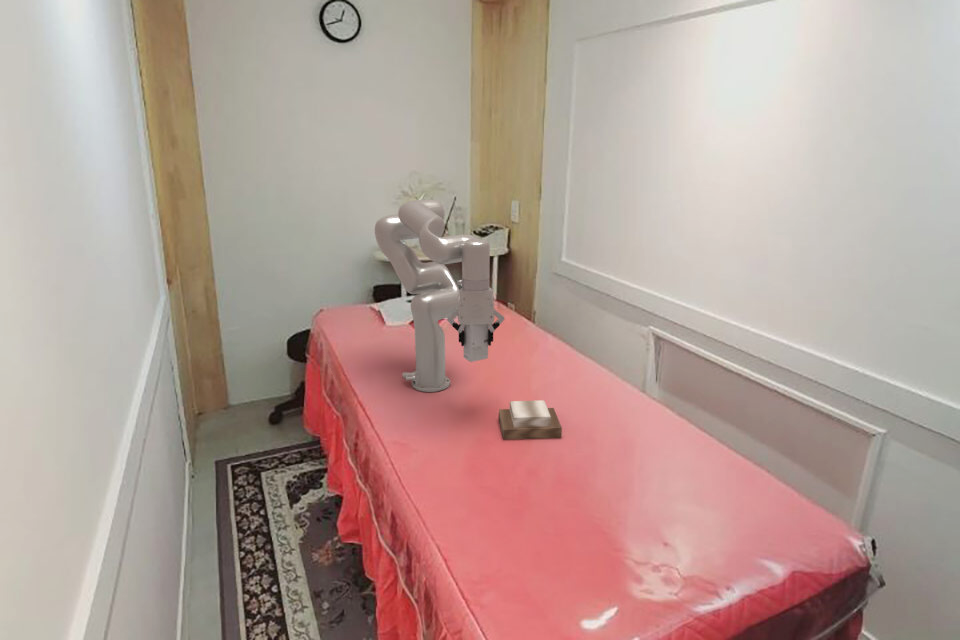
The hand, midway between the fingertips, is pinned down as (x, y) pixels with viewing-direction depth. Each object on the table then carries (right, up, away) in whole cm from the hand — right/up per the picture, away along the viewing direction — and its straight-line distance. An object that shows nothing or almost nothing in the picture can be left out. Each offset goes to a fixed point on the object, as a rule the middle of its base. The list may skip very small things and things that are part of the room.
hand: (475, 343), depth 167 cm
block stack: (+15, -24, -2) cm, 28 cm away
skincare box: (0, -4, +1) cm, 5 cm away
